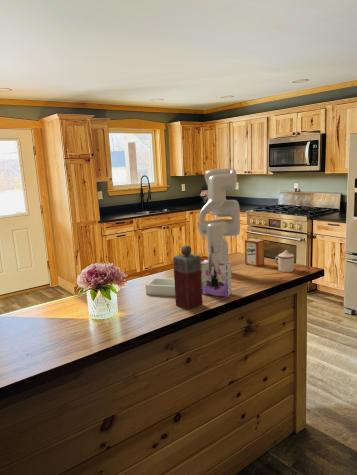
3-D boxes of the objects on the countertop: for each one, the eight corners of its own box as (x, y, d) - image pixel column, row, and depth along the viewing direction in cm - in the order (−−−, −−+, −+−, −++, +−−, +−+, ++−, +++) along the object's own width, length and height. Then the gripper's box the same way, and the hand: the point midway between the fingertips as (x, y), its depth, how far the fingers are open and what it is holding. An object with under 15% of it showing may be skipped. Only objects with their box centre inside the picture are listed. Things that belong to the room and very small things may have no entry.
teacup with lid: (297, 269, 219) (297, 250, 217) (288, 273, 213) (288, 253, 211) (279, 266, 228) (279, 247, 226) (270, 269, 222) (270, 250, 220)
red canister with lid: (186, 298, 182) (183, 242, 177) (202, 304, 174) (200, 245, 168) (172, 304, 177) (168, 245, 171) (188, 310, 168) (185, 249, 163)
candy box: (201, 294, 187) (200, 262, 184) (206, 290, 193) (205, 259, 189) (227, 297, 181) (226, 264, 178) (232, 293, 186) (231, 261, 183)
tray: (155, 286, 203) (154, 277, 202) (190, 288, 196) (190, 279, 195) (146, 294, 192) (145, 284, 191) (183, 296, 185) (183, 287, 184)
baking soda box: (245, 264, 237) (244, 239, 233) (251, 262, 241) (251, 237, 238) (257, 267, 229) (257, 241, 226) (264, 264, 234) (264, 239, 231)
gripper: (212, 244, 192) (213, 278, 195) (203, 252, 176) (204, 289, 179) (226, 244, 189) (227, 279, 193) (218, 253, 173) (220, 290, 177)
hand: (216, 283), depth 186 cm, fingers closed on candy box, 6 cm apart
